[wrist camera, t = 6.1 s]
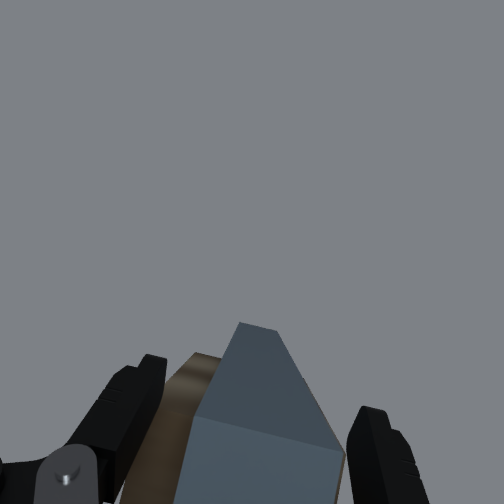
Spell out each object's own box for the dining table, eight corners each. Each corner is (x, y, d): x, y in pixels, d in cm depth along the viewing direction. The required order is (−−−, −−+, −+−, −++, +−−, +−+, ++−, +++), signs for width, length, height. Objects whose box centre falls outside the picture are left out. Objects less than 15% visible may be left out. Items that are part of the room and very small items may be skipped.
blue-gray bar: (230, 360, 30) (239, 322, 31) (268, 369, 30) (277, 331, 30) (155, 578, 7) (194, 415, 8) (311, 620, 7) (343, 452, 8)
